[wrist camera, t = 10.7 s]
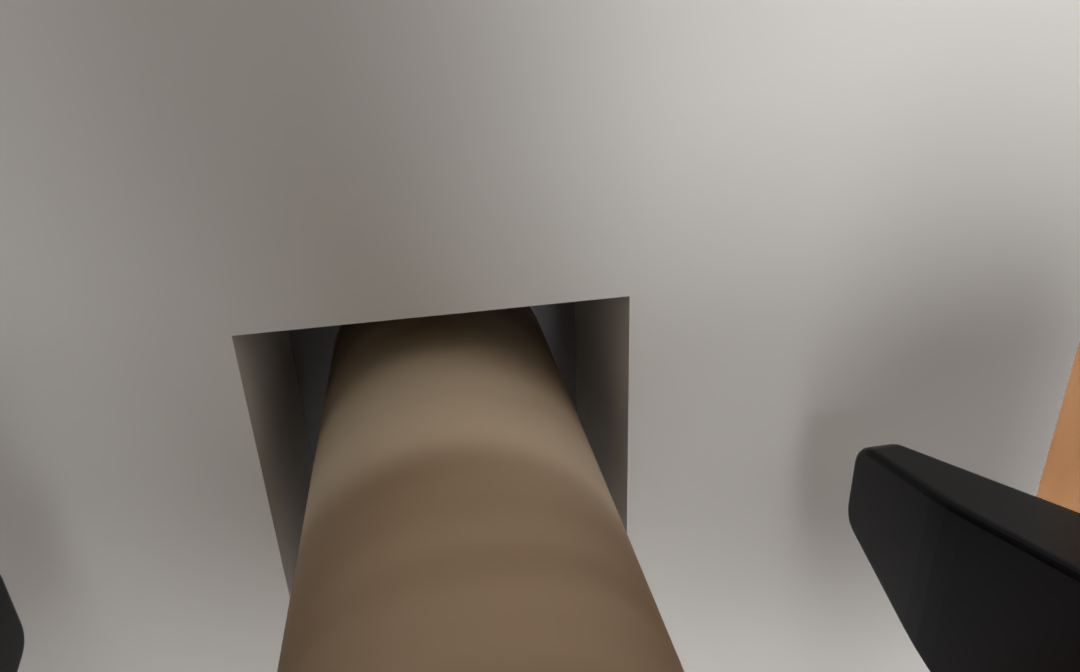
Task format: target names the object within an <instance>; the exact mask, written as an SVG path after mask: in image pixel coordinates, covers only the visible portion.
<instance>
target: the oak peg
mask: <svg viewBox="0 0 1080 672" xmlns="http://www.w3.org/2000/svg"><path fill="white" fill-rule="evenodd" d="M277 672H684V670H683V667H682V665H681V662H680V660H679V658H678V655H677V653H676V650H675V648H674V646H673V643H672V641H671V638H670V636H669V634H668V631H667V629H666V626H665V624H664V622H663V619H662V617H661V614H660V612H659V610H658V607H657V605H656V602H655V600H654V598H653V595H652V593H651V590H650V588H649V586H648V583H647V581H646V578H645V576H644V574H643V571H642V569H641V566H640V564H639V562H638V559H637V557H636V554H635V552H634V550H633V547H632V545H631V542H630V540H629V538H628V535H627V533H626V530H625V528H624V526H623V523H622V521H621V519H620V516H619V514H618V511H617V509H616V507H615V504H614V502H613V499H612V497H611V495H610V492H609V490H608V487H607V485H606V483H605V480H604V478H603V475H602V473H601V471H600V468H599V466H598V463H597V461H596V459H595V456H594V454H593V451H592V449H591V447H590V444H589V442H588V439H587V437H586V435H585V432H584V430H583V427H582V425H581V423H580V420H579V418H578V415H577V413H576V411H575V408H574V406H573V403H572V401H571V399H570V396H569V394H568V391H567V389H566V387H565V384H564V382H563V379H562V377H561V375H560V372H559V370H558V367H557V365H556V363H555V360H554V358H553V355H552V353H551V351H550V348H549V346H548V343H547V341H546V339H545V336H544V334H543V331H542V329H541V327H540V324H539V322H538V320H537V317H536V315H535V314H534V312H533V311H532V309H531V307H530V306H527V307H516V308H506V309H496V310H486V311H476V312H466V313H456V314H446V315H436V316H426V317H416V318H406V319H396V320H386V321H376V322H366V323H356V324H346V325H341V326H340V329H339V331H338V334H337V337H336V341H335V346H334V351H333V356H332V362H331V368H330V373H329V379H328V385H327V391H326V396H325V402H324V408H323V413H322V419H321V425H320V430H319V436H318V442H317V447H316V453H315V459H314V464H313V470H312V476H311V482H310V487H309V493H308V499H307V504H306V510H305V516H304V521H303V527H302V533H301V538H300V544H299V550H298V555H297V561H296V567H295V573H294V578H293V584H292V590H291V595H290V601H289V607H288V612H287V618H286V624H285V629H284V635H283V641H282V646H281V652H280V658H279V663H278V669H277Z"/></svg>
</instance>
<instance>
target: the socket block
mask: <svg viewBox="0 0 1080 672" xmlns="http://www.w3.org/2000/svg"><path fill="white" fill-rule="evenodd" d="M527 306H530V307H531V309H532V311H533V312H534V314H535V315H536V317H537V320H538V322H539V324H540V327H541V329H542V331H543V334H544V336H545V339H546V341H547V343H548V346H549V348H550V351H551V353H552V355H553V358H554V360H555V363H556V365H557V367H558V370H559V372H560V375H561V377H562V379H563V382H564V384H565V387H566V389H567V391H568V394H569V396H570V399H571V401H572V403H573V406H574V408H575V411H576V413H577V415H578V418H579V420H580V423H581V425H582V427H583V430H584V432H585V435H586V437H587V439H588V442H589V444H590V447H591V449H592V451H593V454H594V456H595V459H596V461H597V463H598V466H599V468H600V471H601V473H602V475H603V478H604V480H605V483H606V485H607V487H608V490H609V492H610V495H611V497H612V499H613V502H614V504H615V507H616V509H617V511H618V514H619V516H620V519H621V521H622V523H623V526H624V528H625V530H626V533H627V535H628V538H629V540H630V542H631V545H632V547H633V550H634V552H635V554H636V557H637V559H638V562H639V564H640V566H641V569H642V571H643V574H644V576H645V578H646V581H647V583H648V586H649V588H650V590H651V593H652V595H653V598H654V600H655V602H656V605H657V607H658V610H659V612H660V614H661V617H662V619H663V622H664V624H665V626H666V629H667V631H668V634H669V636H670V638H671V641H672V643H673V646H674V648H675V650H676V653H677V655H678V658H679V660H680V662H681V665H682V667H683V670H684V672H930V671H929V669H928V668H927V666H926V665H925V663H924V661H923V660H922V658H921V657H920V655H919V653H918V652H917V650H916V649H915V647H914V645H913V644H912V642H911V640H910V638H909V636H908V635H907V633H906V631H905V629H904V628H903V626H902V624H901V622H900V620H899V618H898V616H897V614H896V612H895V610H894V609H893V607H892V605H891V603H890V601H889V599H888V597H887V595H886V593H885V591H884V589H883V588H882V586H881V584H880V582H879V580H878V578H877V576H876V574H875V572H874V570H873V568H872V567H871V565H870V563H869V561H868V559H867V557H866V555H865V553H864V551H863V549H862V547H861V546H860V544H859V542H858V540H857V538H856V536H855V534H854V532H853V530H852V528H851V525H850V522H849V517H848V503H849V497H850V491H851V484H852V478H853V471H854V465H855V460H856V456H857V455H858V453H859V452H860V451H861V450H862V449H864V448H866V447H873V446H880V445H887V444H898V445H902V446H904V447H907V448H910V449H912V450H915V451H917V452H920V453H923V454H925V455H928V456H931V457H933V458H936V459H938V460H941V461H944V462H946V463H949V464H952V465H954V466H957V467H959V468H962V469H965V470H967V471H970V472H973V473H975V474H978V475H980V476H983V477H986V478H988V479H991V480H994V481H996V482H999V483H1002V484H1004V485H1007V486H1009V487H1012V488H1015V489H1017V490H1020V491H1023V492H1025V493H1028V494H1030V495H1033V496H1036V495H1037V491H1038V488H1039V484H1040V481H1041V477H1042V473H1043V470H1044V466H1045V463H1046V459H1047V455H1048V452H1049V448H1050V445H1051V441H1052V438H1053V434H1054V430H1055V427H1056V423H1057V420H1058V416H1059V413H1060V409H1061V405H1062V402H1063V398H1064V395H1065V391H1066V388H1067V384H1068V380H1069V377H1070V373H1071V370H1072V366H1073V363H1074V359H1075V355H1076V352H1077V348H1078V345H1079V341H1080V0H0V575H1V576H2V578H3V581H4V583H5V585H6V588H7V590H8V593H9V595H10V597H11V600H12V602H13V605H14V607H15V609H16V612H17V614H18V616H19V619H20V621H21V624H22V627H23V631H24V651H23V655H22V658H21V662H20V665H19V668H18V672H277V669H278V663H279V658H280V652H281V646H282V641H283V635H284V629H285V624H286V618H287V612H288V607H289V601H290V595H291V590H292V584H293V578H294V573H295V567H296V561H297V555H298V550H299V544H300V538H301V533H302V527H303V521H304V516H305V510H306V504H307V499H308V493H309V487H310V482H311V476H312V470H313V464H314V459H315V453H316V447H317V442H318V436H319V430H320V425H321V419H322V413H323V408H324V402H325V396H326V391H327V385H328V379H329V373H330V368H331V362H332V356H333V351H334V346H335V341H336V337H337V334H338V331H339V329H340V326H341V325H346V324H356V323H366V322H376V321H386V320H396V319H406V318H416V317H426V316H436V315H446V314H456V313H466V312H476V311H486V310H496V309H506V308H516V307H527Z"/></svg>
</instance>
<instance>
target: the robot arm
mask: <svg viewBox="0 0 1080 672" xmlns="http://www.w3.org/2000/svg"><path fill="white" fill-rule="evenodd" d="M848 517H849V522H850V525H851V528H852V530H853V532H854V534H855V536H856V538H857V540H858V542H859V544H860V546H861V547H862V549H863V551H864V553H865V555H866V557H867V559H868V561H869V563H870V565H871V567H872V568H873V570H874V572H875V574H876V576H877V578H878V580H879V582H880V584H881V586H882V588H883V589H884V591H885V593H886V595H887V597H888V599H889V601H890V603H891V605H892V607H893V609H894V610H895V612H896V614H897V616H898V618H899V620H900V622H901V624H902V626H903V628H904V629H905V631H906V633H907V635H908V636H909V638H910V640H911V642H912V644H913V645H914V647H915V649H916V650H917V652H918V653H919V655H920V657H921V658H922V660H923V661H924V663H925V665H926V666H927V668H928V669H929V671H930V672H1080V513H1078V512H1075V511H1072V510H1070V509H1067V508H1065V507H1062V506H1059V505H1057V504H1054V503H1051V502H1049V501H1046V500H1044V499H1041V498H1038V497H1036V496H1033V495H1030V494H1028V493H1025V492H1023V491H1020V490H1017V489H1015V488H1012V487H1009V486H1007V485H1004V484H1002V483H999V482H996V481H994V480H991V479H988V478H986V477H983V476H980V475H978V474H975V473H973V472H970V471H967V470H965V469H962V468H959V467H957V466H954V465H952V464H949V463H946V462H944V461H941V460H938V459H936V458H933V457H931V456H928V455H925V454H923V453H920V452H917V451H915V450H912V449H910V448H907V447H904V446H902V445H898V444H887V445H880V446H873V447H866V448H864V449H862V450H861V451H860V452H859V453H858V455H857V456H856V460H855V465H854V471H853V478H852V484H851V491H850V497H849V503H848ZM23 651H24V631H23V627H22V624H21V621H20V619H19V616H18V614H17V612H16V609H15V607H14V605H13V602H12V600H11V597H10V595H9V593H8V590H7V588H6V585H5V583H4V581H3V578H2V576H1V575H0V672H18V668H19V665H20V662H21V658H22V655H23Z"/></svg>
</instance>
